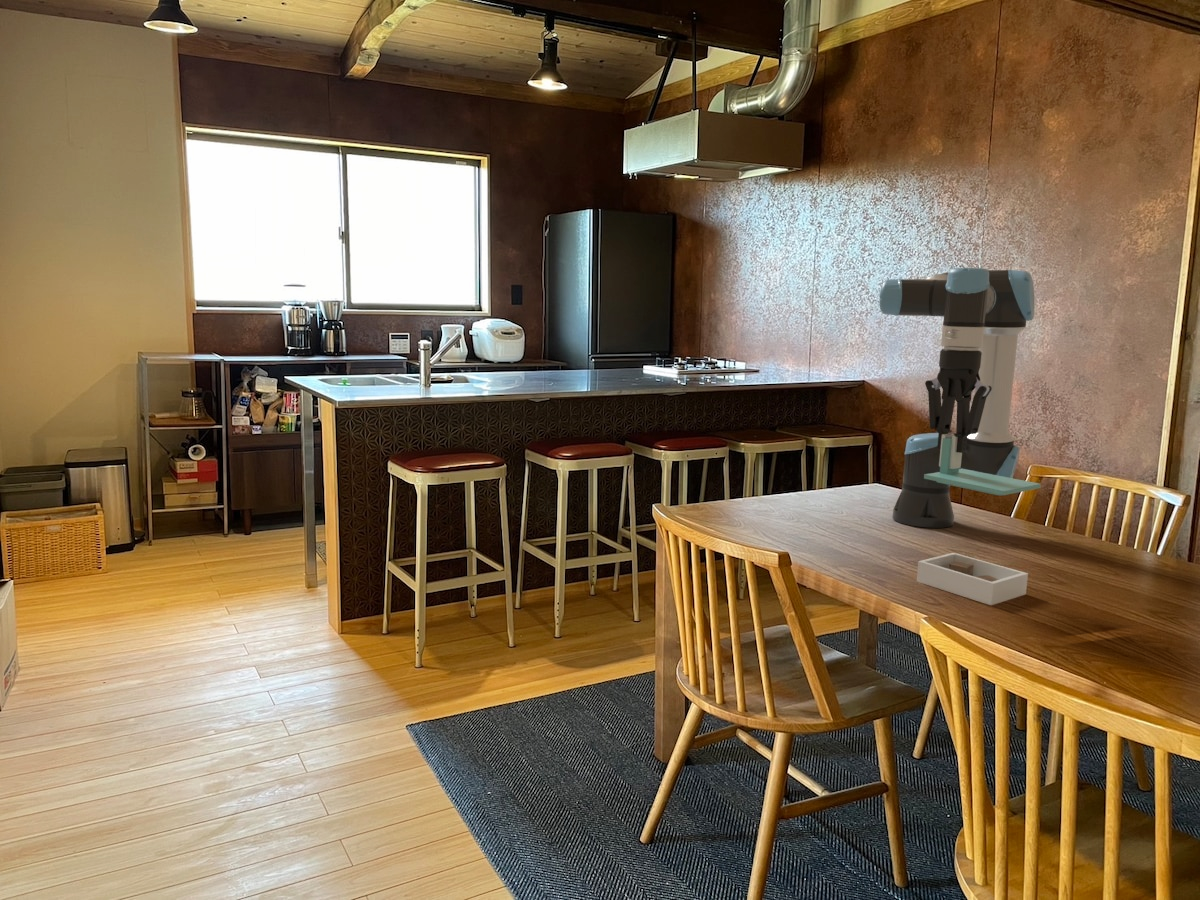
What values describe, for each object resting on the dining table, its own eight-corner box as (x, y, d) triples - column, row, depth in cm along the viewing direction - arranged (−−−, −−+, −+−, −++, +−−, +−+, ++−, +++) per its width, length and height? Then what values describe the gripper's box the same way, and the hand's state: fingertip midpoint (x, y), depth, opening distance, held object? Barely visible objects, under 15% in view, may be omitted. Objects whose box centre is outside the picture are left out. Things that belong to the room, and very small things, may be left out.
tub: (951, 575, 180) (953, 552, 180) (1025, 598, 168) (1028, 573, 167) (916, 585, 174) (918, 561, 173) (990, 609, 161) (993, 583, 160)
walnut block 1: (954, 576, 177) (956, 560, 176) (971, 581, 175) (973, 564, 174) (947, 580, 175) (949, 563, 174) (964, 584, 172) (966, 567, 171)
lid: (961, 475, 177) (965, 434, 176) (1040, 491, 164) (1045, 447, 162) (923, 481, 170) (927, 439, 169) (1003, 498, 157) (1008, 453, 155)
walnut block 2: (986, 592, 168) (988, 575, 167) (999, 598, 165) (1001, 580, 164) (971, 593, 167) (973, 576, 166) (985, 599, 163) (987, 582, 163)
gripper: (916, 346, 172) (906, 462, 176) (985, 351, 160) (972, 475, 164) (939, 346, 176) (928, 459, 180) (1007, 350, 164) (994, 471, 168)
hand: (949, 466), depth 172 cm, fingers closed on lid, 2 cm apart
